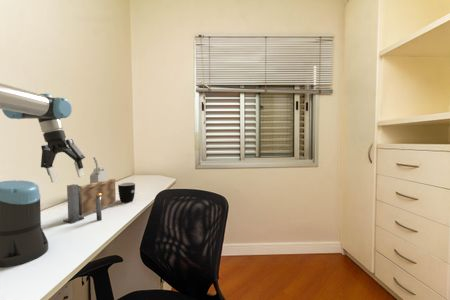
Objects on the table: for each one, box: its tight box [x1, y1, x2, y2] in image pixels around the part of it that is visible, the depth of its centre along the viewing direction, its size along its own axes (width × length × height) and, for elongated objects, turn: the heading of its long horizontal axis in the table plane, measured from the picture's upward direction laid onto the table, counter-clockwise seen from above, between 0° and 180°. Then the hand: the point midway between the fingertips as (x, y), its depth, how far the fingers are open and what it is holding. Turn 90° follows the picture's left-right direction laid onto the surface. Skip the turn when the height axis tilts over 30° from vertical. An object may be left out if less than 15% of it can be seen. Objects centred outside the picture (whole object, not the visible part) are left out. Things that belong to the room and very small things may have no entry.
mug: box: [117, 182, 136, 204], centre depth 142 cm, size 12×9×10 cm
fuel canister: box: [89, 157, 108, 184], centre depth 152 cm, size 15×5×25 cm, turn 5°
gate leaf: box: [78, 178, 117, 217], centre depth 122 cm, size 23×2×14 cm, turn 161°
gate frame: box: [62, 183, 102, 224], centre depth 109 cm, size 8×14×16 cm, turn 71°
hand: (68, 179), depth 106 cm, fingers open, 13 cm apart
